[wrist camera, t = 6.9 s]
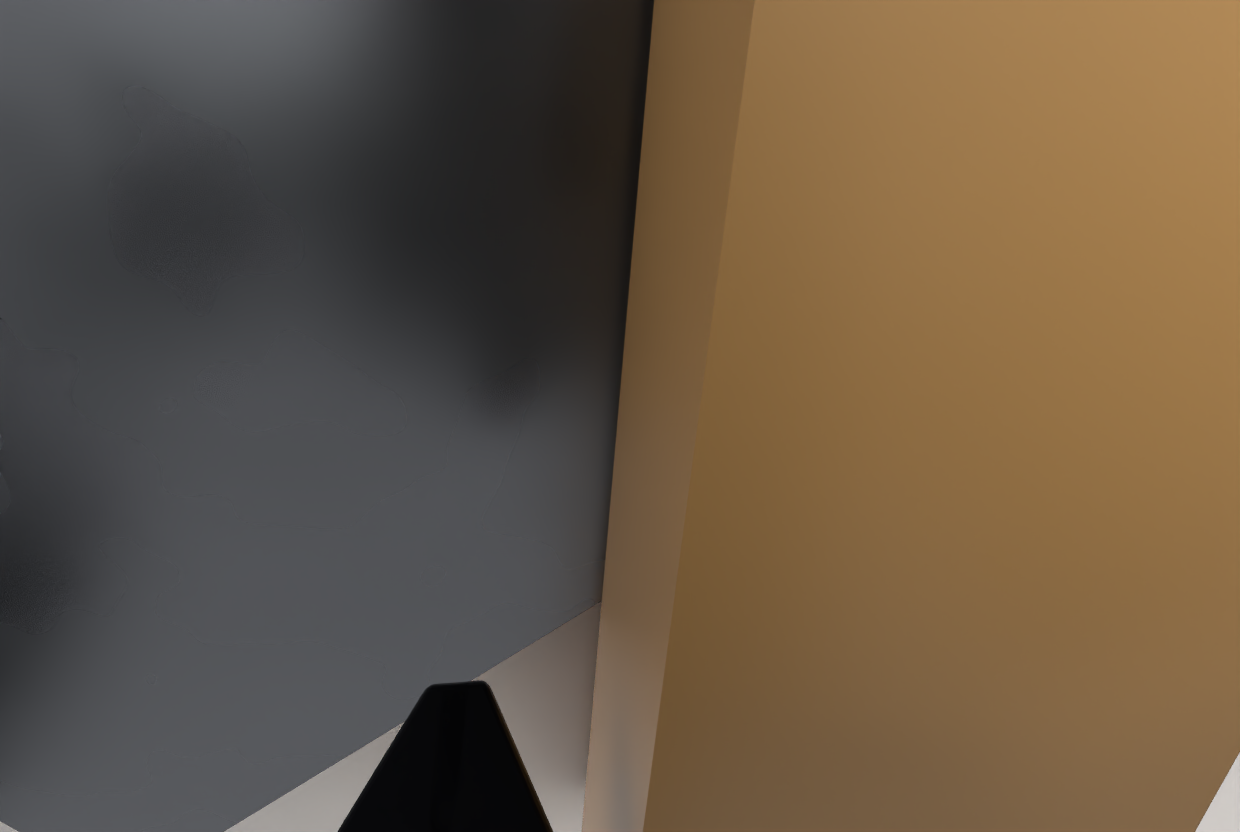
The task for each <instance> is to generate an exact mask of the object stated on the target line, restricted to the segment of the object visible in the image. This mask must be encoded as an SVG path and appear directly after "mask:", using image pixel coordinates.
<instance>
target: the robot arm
mask: <svg viewBox="0 0 1240 832" xmlns="http://www.w3.org/2000/svg"><path fill="white" fill-rule="evenodd" d="M338 832H553V830H552V828H551V826H550V823H549V821H548V819H547V816H546V814H545V812H544V810H543V807H542V805H541V803H540V800H539V798H538V796H537V793H536V791H535V789H534V786H533V784H532V782H531V780H530V777H529V775H528V773H527V770H526V768H525V766H524V763H523V761H522V759H521V757H520V754H519V752H518V750H517V747H516V745H515V743H514V740H513V738H512V736H511V733H510V731H509V729H508V727H507V724H506V722H505V720H504V717H503V715H502V713H501V710H500V708H499V706H498V704H497V701H496V699H495V697H494V694H493V692H492V690H491V688H490V686H489V685H488V684H487V683H486V682H484V681H468V682H454V683H439V684H432V685H430V686H429V687H427V688H426V689H425V690H424V692H423V693H422V695H421V696H420V698H419V699H418V701H417V703H416V704H415V706H414V708H413V709H412V711H411V713H410V714H409V716H408V717H407V719H406V721H405V722H404V724H403V726H402V727H401V729H400V730H399V732H398V734H397V735H396V737H395V739H394V740H393V742H392V744H391V745H390V747H389V748H388V750H387V752H386V753H385V755H384V757H383V758H382V760H381V762H380V763H379V765H378V766H377V768H376V770H375V771H374V773H373V775H372V776H371V778H370V779H369V781H368V783H367V784H366V786H365V788H364V789H363V791H362V793H361V794H360V796H359V797H358V799H357V801H356V802H355V804H354V806H353V807H352V809H351V810H350V812H349V814H348V815H347V817H346V819H345V820H344V822H343V824H342V825H341V827H340V828H339V830H338Z"/></svg>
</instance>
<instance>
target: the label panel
mask: <svg viewBox="0 0 1240 832" xmlns="http://www.w3.org/2000/svg"><path fill="white" fill-rule="evenodd" d="M653 8H654V0H0V821H1V822H3V823H5V824H6V825H8V826H10V827H12V828H14V829H15V830H17V831H19V832H224V831H226V830H227V829H229V828H230V827H232V826H234V825H235V824H237V823H239V822H240V821H242V820H244V819H245V818H247V817H248V816H250V815H252V814H253V813H255V812H257V811H258V810H260V809H262V808H263V807H265V806H266V805H268V804H270V803H271V802H273V801H275V800H276V799H278V798H280V797H281V796H283V795H284V794H286V793H288V792H289V791H291V790H293V789H294V788H296V787H298V786H299V785H301V784H302V783H304V782H306V781H307V780H309V779H311V778H312V777H314V776H316V775H317V774H319V773H320V772H322V771H324V770H325V769H327V768H329V767H330V766H332V765H334V764H335V763H337V762H338V761H340V760H342V759H343V758H345V757H347V756H348V755H350V754H352V753H353V752H355V751H356V750H358V749H360V748H361V747H363V746H365V745H366V744H368V743H370V742H371V741H373V740H374V739H376V738H378V737H379V736H381V735H383V734H384V733H386V732H388V731H389V730H391V729H392V728H394V727H396V726H397V725H399V724H401V723H402V722H404V721H406V719H407V717H408V716H409V714H410V713H411V711H412V709H413V708H414V706H415V704H416V703H417V701H418V699H419V698H420V696H421V695H422V693H423V692H424V690H425V689H426V688H427V687H429V686H430V685H432V684H439V683H454V682H468V681H471V680H473V679H474V678H476V677H478V676H479V675H481V674H482V673H484V672H486V671H487V670H489V669H491V668H492V667H494V666H496V665H497V664H499V663H500V662H502V661H504V660H505V659H507V658H509V657H510V656H512V655H514V654H515V653H517V652H518V651H520V650H522V649H523V648H525V647H527V646H528V645H530V644H532V643H533V642H535V641H536V640H538V639H540V638H541V637H543V636H545V635H546V634H548V633H550V632H551V631H553V630H554V629H556V628H558V627H559V626H561V625H563V624H564V623H566V622H568V621H569V620H571V619H572V618H574V617H576V616H577V615H579V614H581V613H582V612H584V611H586V610H587V609H589V608H590V607H592V606H594V605H595V604H597V603H599V602H600V601H602V593H603V581H604V570H605V559H606V547H607V536H608V524H609V513H610V501H611V490H612V478H613V467H614V455H615V444H616V432H617V421H618V409H619V398H620V387H621V375H622V364H623V352H624V341H625V329H626V318H627V306H628V295H629V283H630V272H631V260H632V249H633V237H634V226H635V215H636V203H637V192H638V180H639V169H640V157H641V146H642V134H643V123H644V111H645V100H646V88H647V77H648V65H649V54H650V43H651V31H652V20H653Z"/></svg>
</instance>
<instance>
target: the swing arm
mask: <svg viewBox="0 0 1240 832" xmlns="http://www.w3.org/2000/svg"><path fill="white" fill-rule="evenodd" d="M1239 752H1240V0H654V8H653V20H652V31H651V43H650V54H649V65H648V77H647V88H646V100H645V111H644V123H643V134H642V146H641V157H640V169H639V180H638V192H637V203H636V215H635V226H634V237H633V249H632V260H631V272H630V283H629V295H628V306H627V318H626V329H625V341H624V352H623V364H622V375H621V387H620V398H619V409H618V421H617V432H616V444H615V455H614V467H613V478H612V490H611V501H610V513H609V524H608V536H607V547H606V559H605V570H604V581H603V593H602V604H601V616H600V627H599V639H598V650H597V662H596V673H595V685H594V696H593V708H592V719H591V731H590V742H589V753H588V765H587V776H586V788H585V799H584V811H583V822H582V832H1195V831H1196V829H1197V827H1198V825H1199V823H1200V822H1201V820H1202V818H1203V816H1204V815H1205V813H1206V811H1207V809H1208V807H1209V806H1210V804H1211V802H1212V800H1213V799H1214V797H1215V795H1216V793H1217V791H1218V790H1219V788H1220V786H1221V784H1222V783H1223V781H1224V779H1225V777H1226V775H1227V774H1228V772H1229V770H1230V768H1231V766H1232V765H1233V763H1234V761H1235V759H1236V758H1237V756H1238V754H1239Z"/></svg>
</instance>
